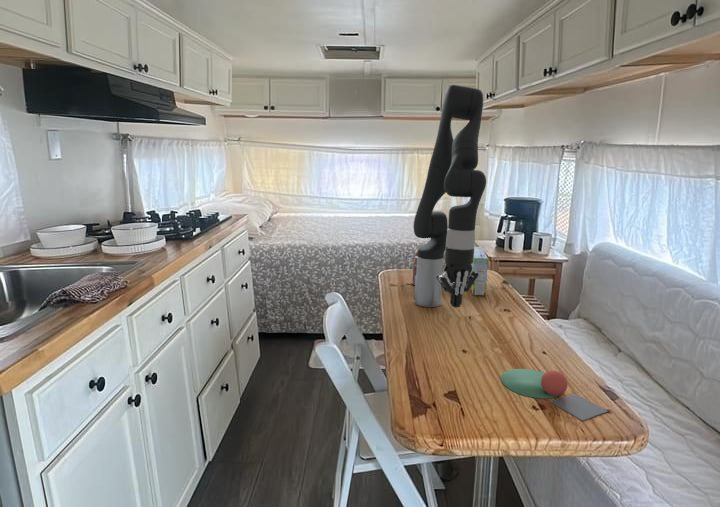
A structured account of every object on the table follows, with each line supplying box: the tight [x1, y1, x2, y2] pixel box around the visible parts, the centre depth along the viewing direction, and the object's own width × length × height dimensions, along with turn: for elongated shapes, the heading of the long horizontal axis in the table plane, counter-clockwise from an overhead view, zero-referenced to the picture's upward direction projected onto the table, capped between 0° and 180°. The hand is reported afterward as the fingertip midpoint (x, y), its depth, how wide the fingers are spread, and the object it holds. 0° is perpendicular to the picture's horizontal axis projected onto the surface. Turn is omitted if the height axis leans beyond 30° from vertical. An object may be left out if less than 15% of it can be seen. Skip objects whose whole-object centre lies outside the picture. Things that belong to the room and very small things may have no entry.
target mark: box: [500, 368, 561, 400], centre depth 108 cm, size 14×14×1 cm
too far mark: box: [550, 393, 609, 422], centre depth 98 cm, size 8×8×1 cm
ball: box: [541, 369, 568, 397], centre depth 103 cm, size 6×6×6 cm
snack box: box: [470, 246, 489, 297], centre depth 183 cm, size 21×6×15 cm, turn 172°
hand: (455, 306), depth 126 cm, fingers closed
